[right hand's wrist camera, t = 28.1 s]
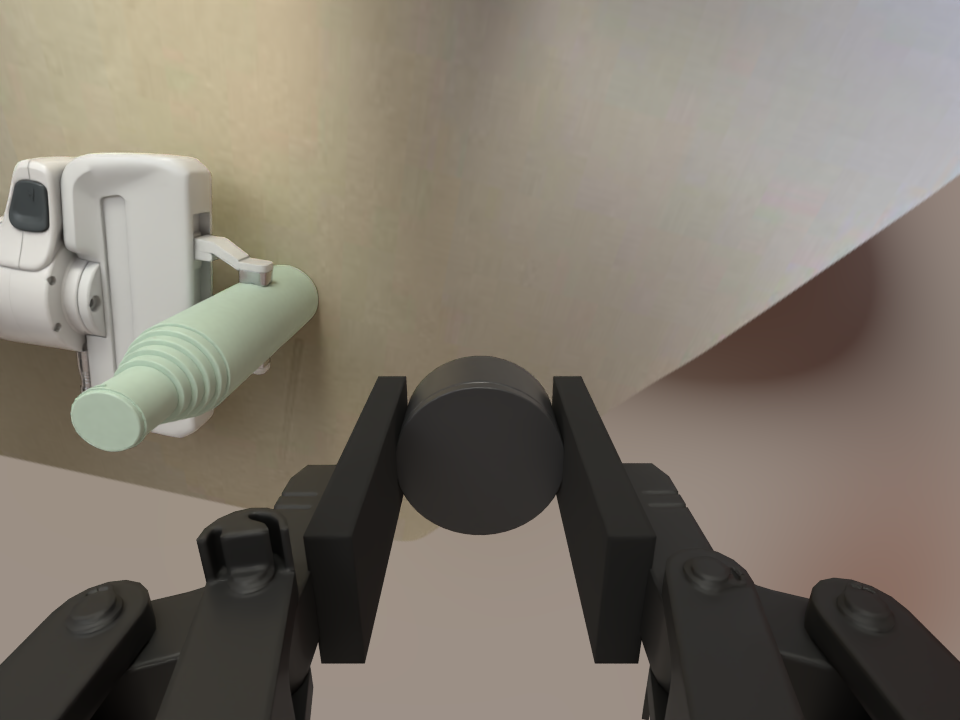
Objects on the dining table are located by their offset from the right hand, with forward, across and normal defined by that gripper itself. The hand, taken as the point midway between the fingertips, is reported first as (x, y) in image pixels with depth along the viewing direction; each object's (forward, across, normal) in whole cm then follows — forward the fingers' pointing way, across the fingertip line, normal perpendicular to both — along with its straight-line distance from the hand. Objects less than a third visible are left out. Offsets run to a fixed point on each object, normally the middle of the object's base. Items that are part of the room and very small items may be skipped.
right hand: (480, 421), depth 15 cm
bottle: (+30, +16, +4) cm, 34 cm away
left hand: (+23, +15, +4) cm, 28 cm away
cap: (-2, 0, 0) cm, 2 cm away
